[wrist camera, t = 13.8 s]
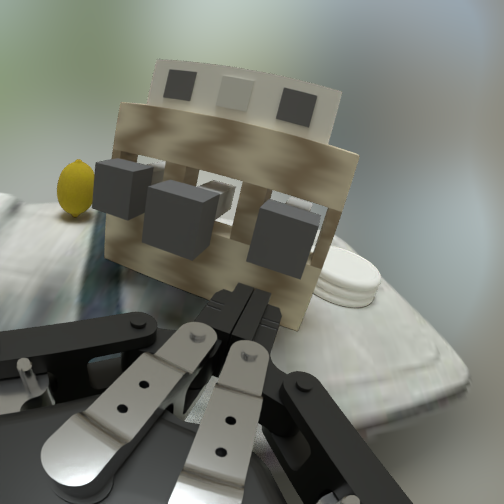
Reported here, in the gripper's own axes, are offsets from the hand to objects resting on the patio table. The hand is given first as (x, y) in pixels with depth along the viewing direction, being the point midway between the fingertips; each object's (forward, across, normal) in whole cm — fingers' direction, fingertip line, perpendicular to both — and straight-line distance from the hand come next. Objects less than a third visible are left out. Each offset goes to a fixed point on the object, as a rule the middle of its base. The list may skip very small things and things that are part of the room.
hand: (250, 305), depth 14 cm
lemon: (+18, +28, +9) cm, 35 cm away
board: (+15, +7, +9) cm, 19 cm away
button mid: (+11, +7, +2) cm, 13 cm away
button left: (+13, +14, +2) cm, 19 cm away
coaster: (+24, -7, +9) cm, 27 cm away
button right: (+13, 0, +2) cm, 13 cm away
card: (+13, +7, -7) cm, 16 cm away
